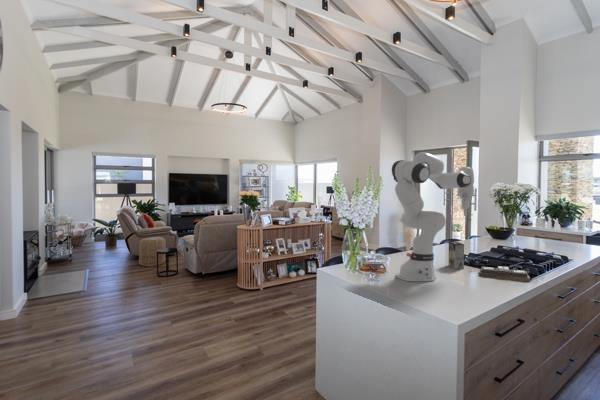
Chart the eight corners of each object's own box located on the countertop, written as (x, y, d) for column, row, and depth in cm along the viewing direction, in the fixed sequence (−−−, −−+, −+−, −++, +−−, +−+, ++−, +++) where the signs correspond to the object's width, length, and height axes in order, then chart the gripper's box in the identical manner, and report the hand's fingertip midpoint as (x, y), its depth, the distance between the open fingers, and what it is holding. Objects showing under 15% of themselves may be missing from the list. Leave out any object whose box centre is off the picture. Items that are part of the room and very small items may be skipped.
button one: (508, 272, 174) (508, 268, 174) (498, 271, 177) (498, 267, 177) (508, 270, 179) (508, 266, 179) (498, 269, 181) (498, 265, 181)
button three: (493, 272, 178) (493, 269, 178) (483, 271, 181) (483, 268, 181) (493, 270, 182) (493, 267, 182) (483, 269, 185) (483, 266, 185)
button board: (530, 282, 167) (530, 274, 167) (479, 276, 180) (479, 269, 180) (527, 277, 176) (527, 270, 176) (479, 272, 188) (479, 265, 188)
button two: (525, 276, 171) (525, 272, 170) (514, 274, 173) (514, 271, 173) (523, 273, 175) (524, 270, 175) (513, 272, 177) (513, 269, 177)
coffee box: (448, 265, 206) (448, 241, 206) (457, 265, 206) (457, 241, 206) (454, 268, 197) (454, 244, 197) (464, 268, 197) (464, 244, 197)
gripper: (471, 193, 177) (470, 217, 178) (471, 193, 195) (471, 214, 195) (458, 193, 180) (458, 216, 181) (460, 193, 198) (460, 214, 198)
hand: (465, 215), depth 188 cm, fingers closed
